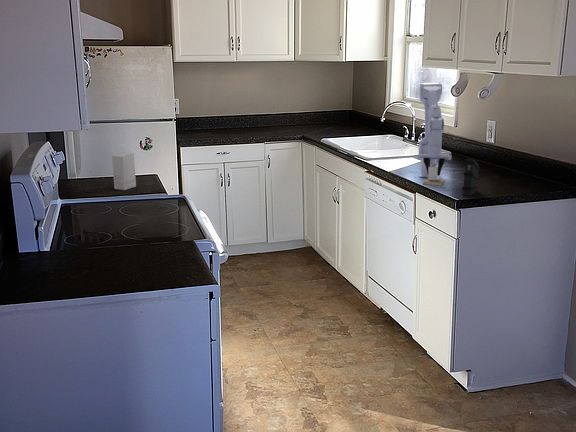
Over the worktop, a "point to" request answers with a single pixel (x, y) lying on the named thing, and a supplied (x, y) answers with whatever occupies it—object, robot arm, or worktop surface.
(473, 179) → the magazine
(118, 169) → the skincare box
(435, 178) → the housing
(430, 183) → the stand
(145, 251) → the worktop surface
